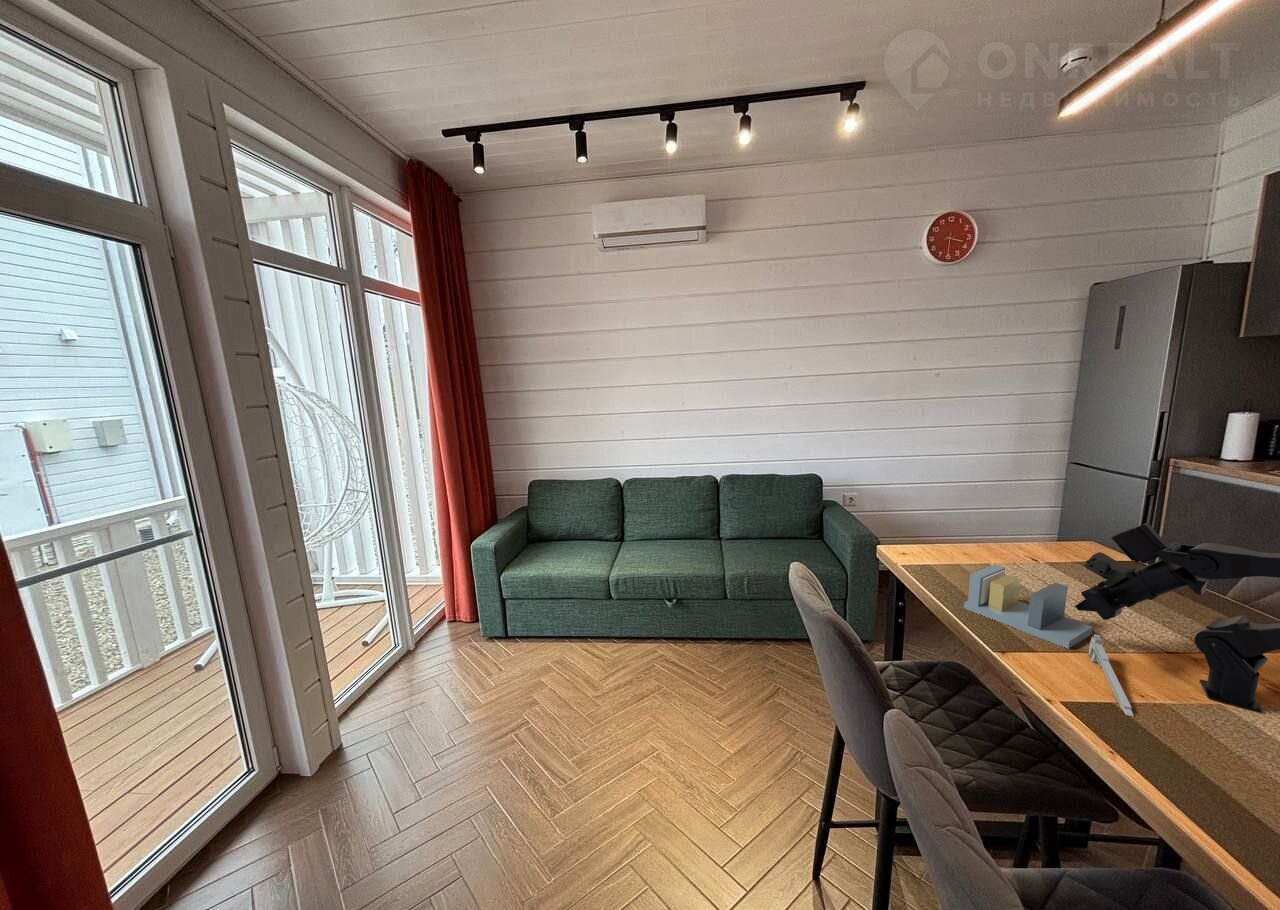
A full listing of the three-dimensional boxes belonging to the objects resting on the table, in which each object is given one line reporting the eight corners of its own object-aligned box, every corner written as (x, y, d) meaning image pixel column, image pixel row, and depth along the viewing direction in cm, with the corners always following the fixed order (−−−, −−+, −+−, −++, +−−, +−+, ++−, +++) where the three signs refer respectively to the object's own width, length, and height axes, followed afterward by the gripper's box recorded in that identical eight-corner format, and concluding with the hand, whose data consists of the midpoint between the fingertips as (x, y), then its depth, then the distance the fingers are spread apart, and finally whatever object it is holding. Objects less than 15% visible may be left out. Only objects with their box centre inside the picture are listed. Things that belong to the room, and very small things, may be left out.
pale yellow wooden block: (1017, 604, 122) (1020, 578, 121) (1001, 611, 119) (1004, 586, 118) (1004, 599, 125) (1006, 574, 124) (988, 607, 121) (990, 581, 120)
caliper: (1087, 657, 103) (1091, 631, 102) (1094, 658, 103) (1097, 632, 102) (1125, 716, 85) (1130, 685, 84) (1133, 718, 85) (1138, 687, 84)
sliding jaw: (1064, 616, 116) (1067, 586, 114) (1040, 629, 110) (1043, 598, 109) (1049, 611, 118) (1053, 582, 117) (1025, 623, 113) (1028, 593, 111)
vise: (1091, 634, 111) (1097, 595, 110) (1068, 649, 106) (1073, 608, 104) (988, 597, 130) (991, 563, 129) (963, 608, 125) (966, 573, 123)
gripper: (1135, 538, 105) (1067, 567, 117) (1100, 555, 97) (1030, 584, 108) (1182, 584, 100) (1105, 610, 111) (1148, 606, 91) (1069, 632, 102)
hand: (1077, 607), depth 108 cm, fingers closed
